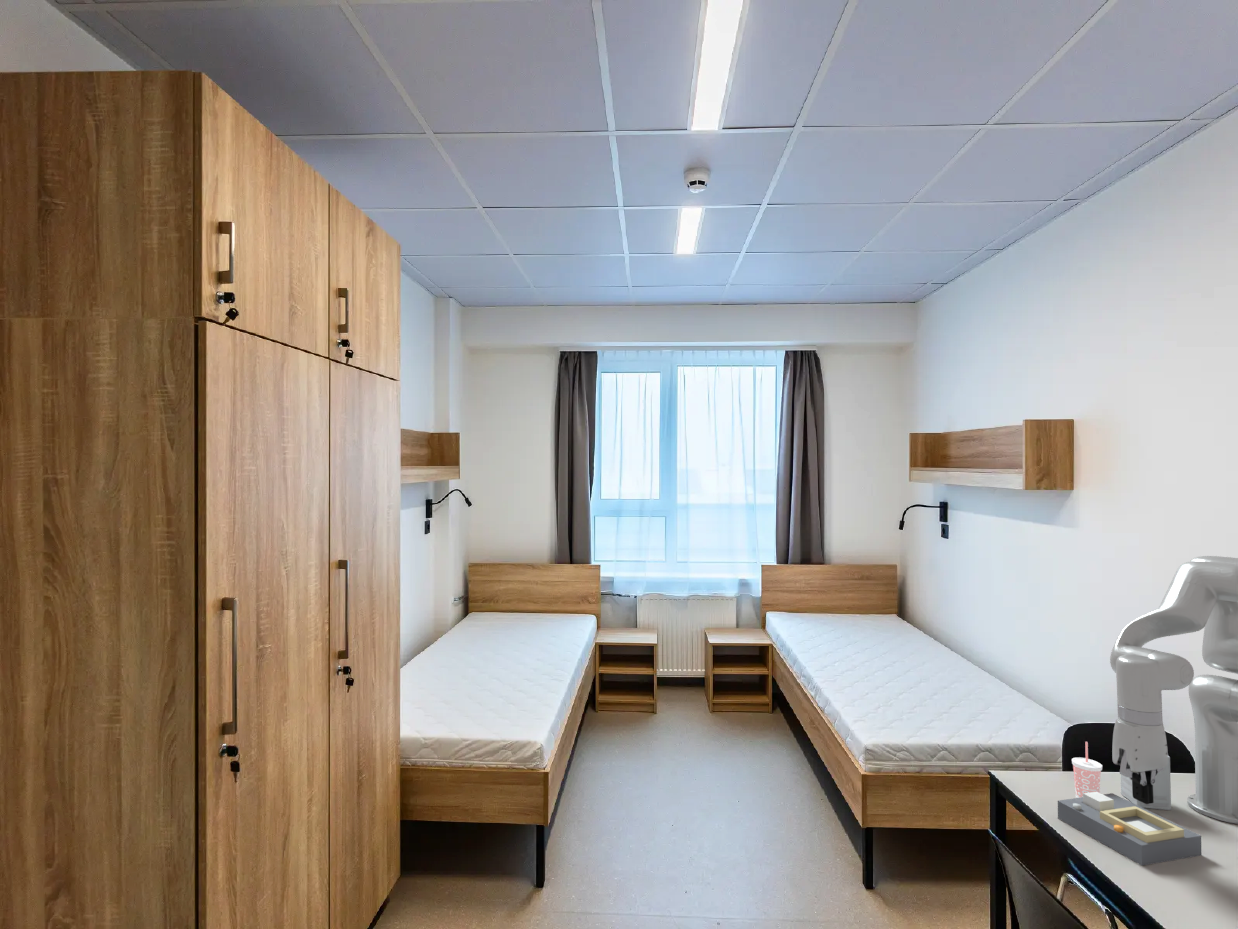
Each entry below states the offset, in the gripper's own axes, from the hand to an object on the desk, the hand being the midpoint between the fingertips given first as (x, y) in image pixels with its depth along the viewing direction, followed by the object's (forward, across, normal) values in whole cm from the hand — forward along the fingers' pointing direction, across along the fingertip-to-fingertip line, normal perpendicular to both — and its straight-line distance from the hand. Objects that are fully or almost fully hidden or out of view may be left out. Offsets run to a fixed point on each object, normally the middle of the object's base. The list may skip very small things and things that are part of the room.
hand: (1143, 800), depth 139 cm
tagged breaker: (+9, +1, 0) cm, 9 cm away
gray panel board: (+10, 0, -5) cm, 11 cm away
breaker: (+7, +1, -9) cm, 12 cm away
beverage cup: (+10, -7, -19) cm, 22 cm away
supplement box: (+11, -20, -15) cm, 27 cm away
